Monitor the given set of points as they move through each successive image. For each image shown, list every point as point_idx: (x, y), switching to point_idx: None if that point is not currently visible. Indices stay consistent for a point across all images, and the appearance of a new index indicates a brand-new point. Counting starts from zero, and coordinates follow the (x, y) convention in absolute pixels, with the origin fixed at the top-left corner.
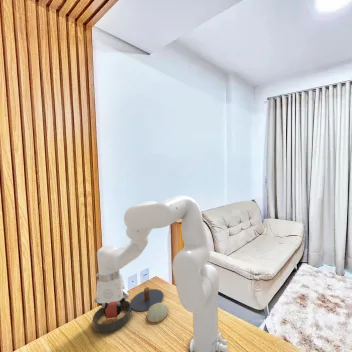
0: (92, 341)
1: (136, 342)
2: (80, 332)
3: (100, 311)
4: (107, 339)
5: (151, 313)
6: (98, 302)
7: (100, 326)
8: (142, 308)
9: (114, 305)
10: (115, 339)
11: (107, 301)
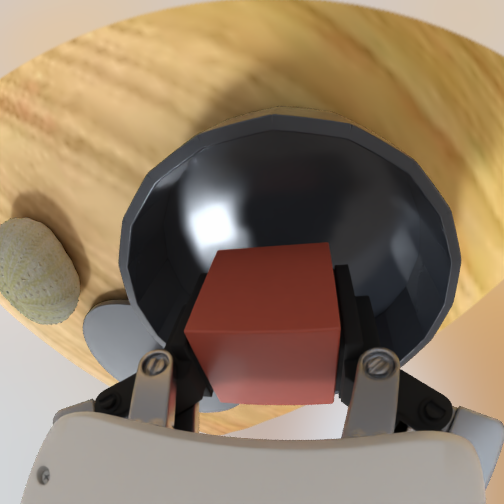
0: (356, 53)
1: (36, 86)
2: (488, 171)
3: (415, 323)
4: (228, 65)
5: (10, 255)
6: (456, 449)
7: (322, 117)
8: (133, 318)
9: (238, 368)
10: (160, 72)
11: (258, 472)
